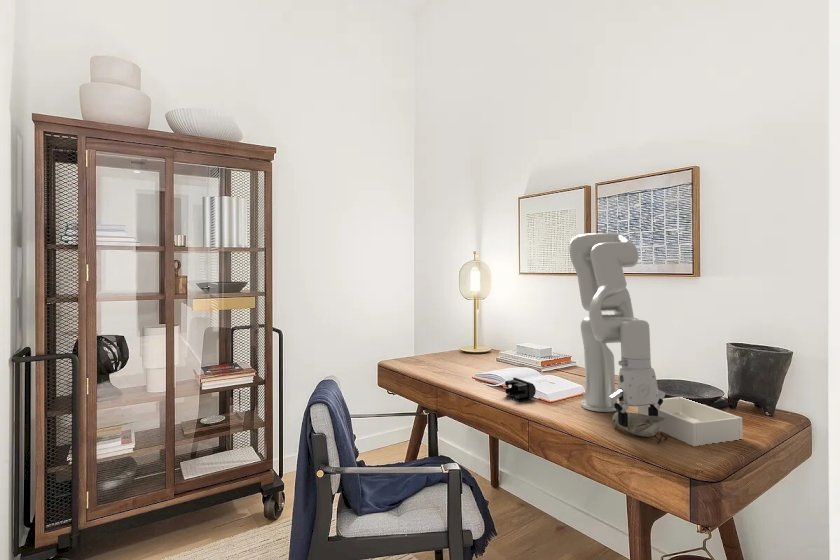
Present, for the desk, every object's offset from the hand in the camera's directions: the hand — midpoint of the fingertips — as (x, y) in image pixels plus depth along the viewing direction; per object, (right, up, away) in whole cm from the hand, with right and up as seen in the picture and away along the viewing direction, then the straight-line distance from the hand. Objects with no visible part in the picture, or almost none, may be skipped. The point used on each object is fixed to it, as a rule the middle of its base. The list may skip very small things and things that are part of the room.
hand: (638, 424), depth 128 cm
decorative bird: (0, -4, 0) cm, 4 cm away
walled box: (+16, -3, +4) cm, 17 cm away
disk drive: (+34, -2, +26) cm, 43 cm away
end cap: (-24, -4, +42) cm, 48 cm away
